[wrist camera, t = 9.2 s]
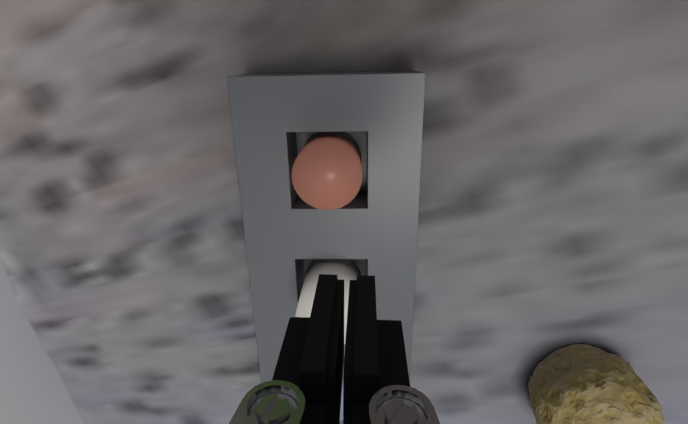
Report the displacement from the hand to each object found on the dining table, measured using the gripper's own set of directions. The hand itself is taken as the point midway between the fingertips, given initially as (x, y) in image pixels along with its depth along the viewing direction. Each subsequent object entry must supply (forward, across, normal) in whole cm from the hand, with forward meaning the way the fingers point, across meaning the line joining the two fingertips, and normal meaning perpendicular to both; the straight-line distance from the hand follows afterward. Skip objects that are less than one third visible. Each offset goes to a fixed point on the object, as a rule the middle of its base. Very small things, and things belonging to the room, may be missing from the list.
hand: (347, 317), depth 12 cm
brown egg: (+19, +2, 0) cm, 19 cm away
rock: (+21, -20, +22) cm, 36 cm away
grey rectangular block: (+20, +2, +9) cm, 22 cm away
